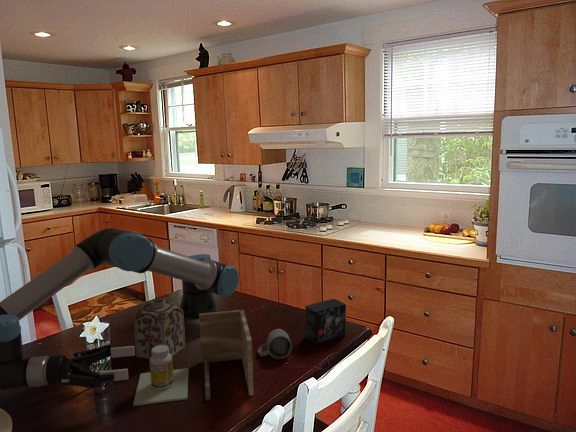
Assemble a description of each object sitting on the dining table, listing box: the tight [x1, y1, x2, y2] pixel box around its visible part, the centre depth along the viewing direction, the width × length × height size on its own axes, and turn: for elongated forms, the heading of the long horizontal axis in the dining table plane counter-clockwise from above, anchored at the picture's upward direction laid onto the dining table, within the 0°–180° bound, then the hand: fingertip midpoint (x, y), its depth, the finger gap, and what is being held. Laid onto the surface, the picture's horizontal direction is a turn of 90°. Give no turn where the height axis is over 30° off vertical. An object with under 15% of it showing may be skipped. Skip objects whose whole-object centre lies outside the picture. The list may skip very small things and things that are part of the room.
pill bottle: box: [149, 345, 174, 390], centre depth 129 cm, size 6×6×11 cm
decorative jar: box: [133, 298, 186, 360], centre depth 149 cm, size 12×12×18 cm
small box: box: [304, 298, 347, 345], centre depth 159 cm, size 13×7×12 cm, turn 123°
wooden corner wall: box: [199, 309, 255, 402], centre depth 133 cm, size 23×14×16 cm, turn 11°
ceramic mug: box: [257, 328, 293, 360], centre depth 148 cm, size 11×8×8 cm
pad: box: [133, 367, 189, 406], centre depth 130 cm, size 16×14×1 cm
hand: (131, 361), depth 126 cm, fingers open, 13 cm apart
